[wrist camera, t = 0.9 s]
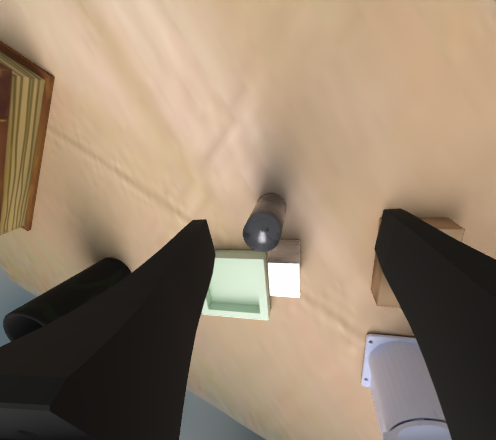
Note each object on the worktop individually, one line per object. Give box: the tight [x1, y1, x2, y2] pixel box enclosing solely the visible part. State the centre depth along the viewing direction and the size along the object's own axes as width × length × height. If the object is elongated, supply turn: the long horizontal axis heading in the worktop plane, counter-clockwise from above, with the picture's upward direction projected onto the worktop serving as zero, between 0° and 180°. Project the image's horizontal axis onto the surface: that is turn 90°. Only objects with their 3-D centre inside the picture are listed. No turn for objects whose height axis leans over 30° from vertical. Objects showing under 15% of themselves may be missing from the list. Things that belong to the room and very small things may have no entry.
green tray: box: [202, 249, 271, 320], centre depth 31 cm, size 9×9×2 cm
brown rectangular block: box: [371, 218, 465, 308], centre depth 24 cm, size 9×6×3 cm, turn 5°
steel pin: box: [243, 193, 286, 252], centre depth 23 cm, size 3×3×7 cm
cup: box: [3, 258, 131, 342], centre depth 30 cm, size 8×8×12 cm
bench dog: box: [268, 239, 300, 298], centre depth 26 cm, size 4×3×5 cm
